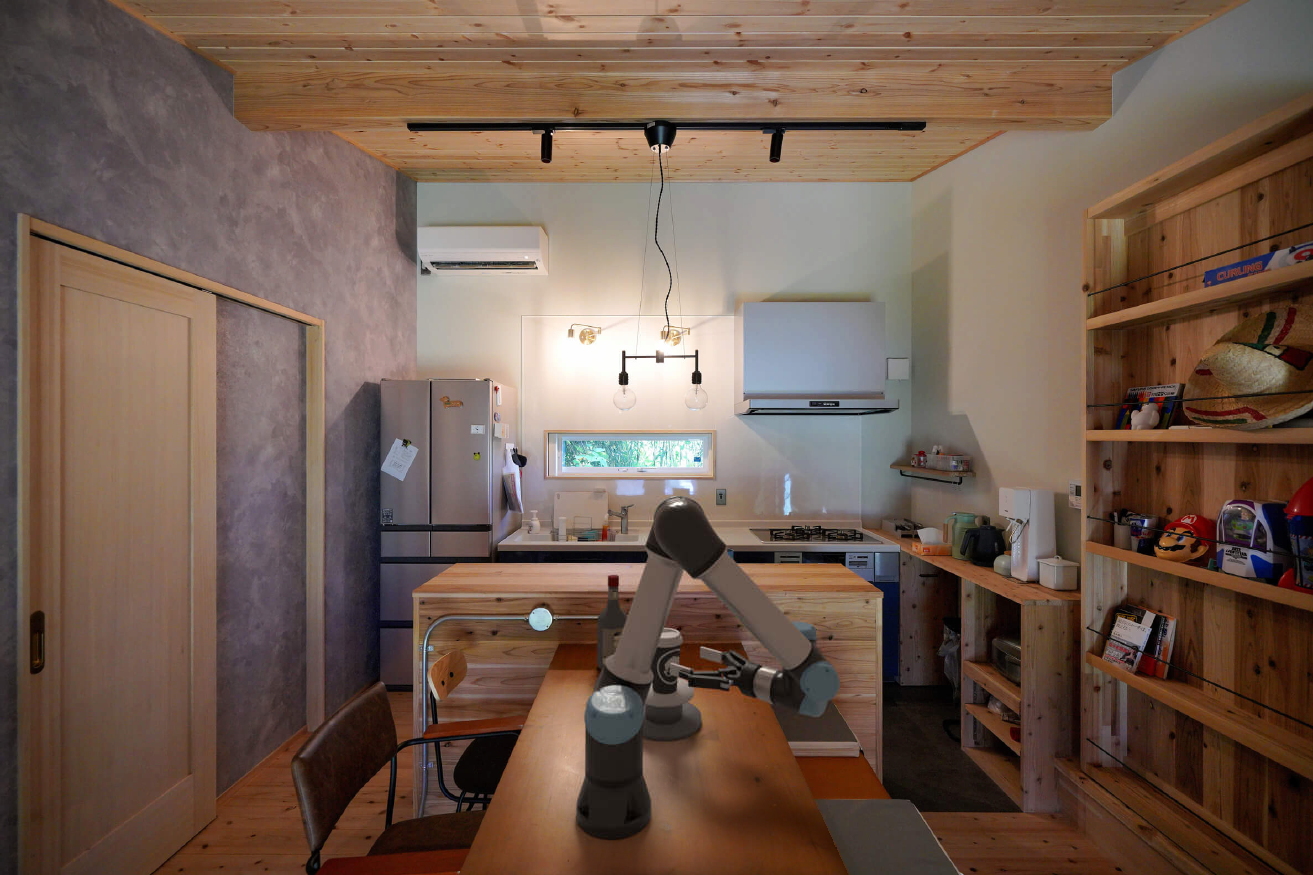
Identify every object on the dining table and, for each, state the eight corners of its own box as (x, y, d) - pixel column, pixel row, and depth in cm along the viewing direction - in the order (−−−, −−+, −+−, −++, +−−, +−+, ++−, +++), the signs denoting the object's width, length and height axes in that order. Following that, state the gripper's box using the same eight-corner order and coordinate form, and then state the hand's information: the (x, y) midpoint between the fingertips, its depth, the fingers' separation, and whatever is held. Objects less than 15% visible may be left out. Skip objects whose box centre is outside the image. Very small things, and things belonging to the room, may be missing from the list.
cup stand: (698, 743, 140) (698, 709, 140) (619, 737, 143) (619, 703, 143) (703, 705, 160) (703, 675, 160) (634, 700, 163) (634, 670, 163)
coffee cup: (683, 681, 156) (684, 627, 155) (681, 698, 146) (681, 640, 146) (649, 679, 157) (649, 625, 156) (644, 695, 147) (644, 638, 147)
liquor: (595, 664, 187) (595, 574, 187) (620, 660, 191) (621, 571, 191) (604, 675, 179) (604, 581, 179) (631, 670, 183) (631, 578, 183)
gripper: (733, 718, 124) (656, 691, 137) (783, 679, 144) (712, 658, 157) (733, 684, 124) (656, 660, 137) (783, 650, 144) (712, 631, 157)
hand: (686, 659), depth 147 cm, fingers open, 13 cm apart
